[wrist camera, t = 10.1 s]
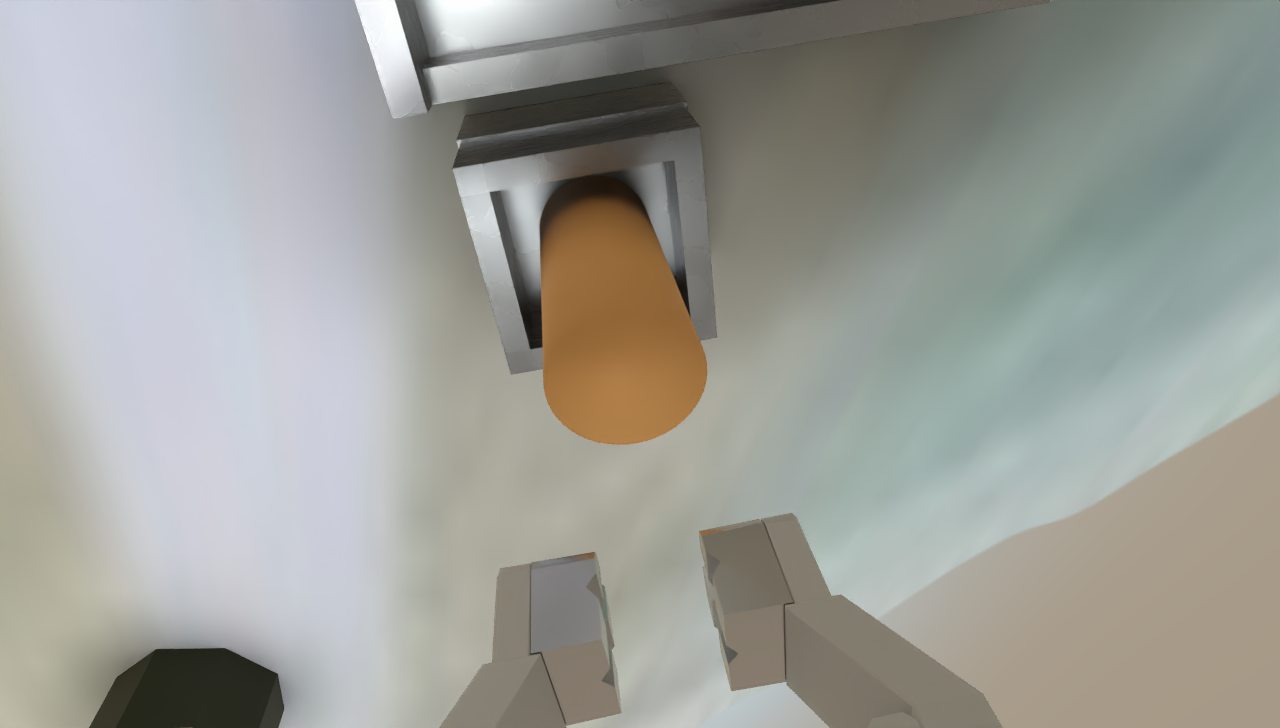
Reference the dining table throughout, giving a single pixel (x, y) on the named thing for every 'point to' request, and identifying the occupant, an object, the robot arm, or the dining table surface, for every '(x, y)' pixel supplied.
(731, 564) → the robot arm
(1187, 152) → the dining table surface
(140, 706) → the wine bottle
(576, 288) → the round peg
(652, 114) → the square tube sleeve
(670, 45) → the bay
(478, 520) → the dining table surface
